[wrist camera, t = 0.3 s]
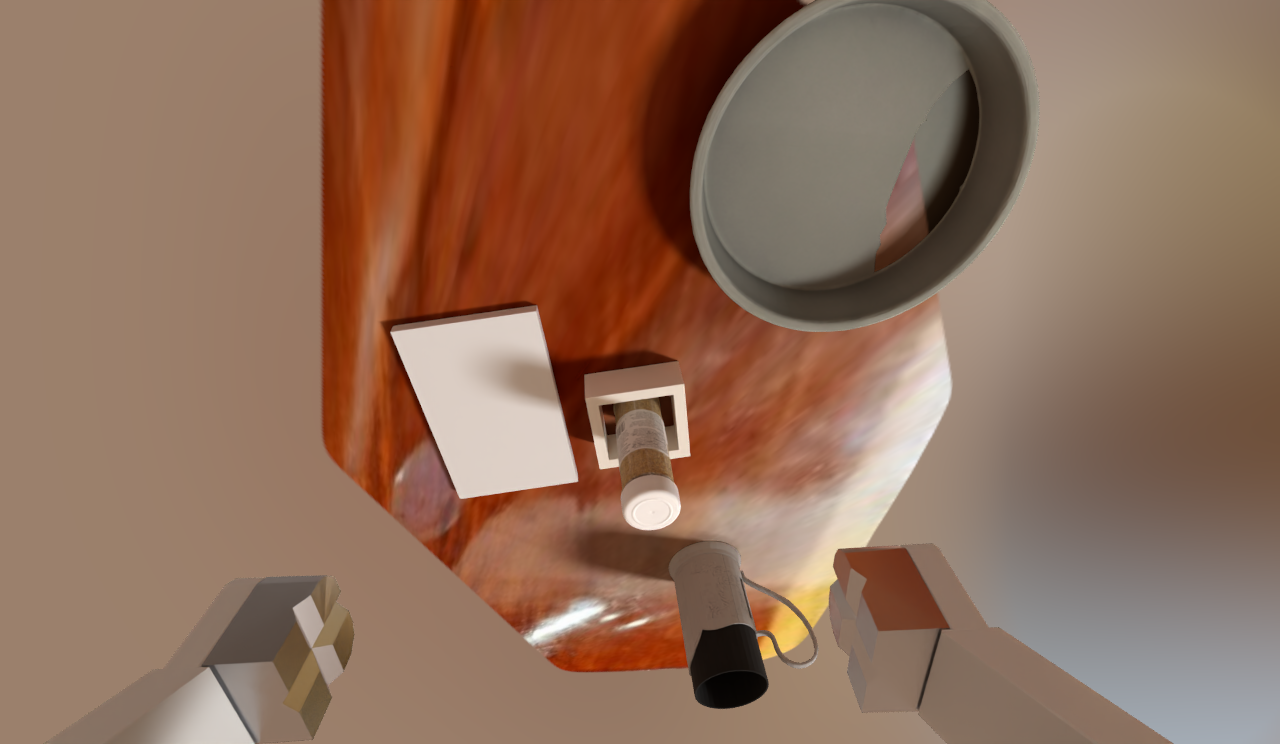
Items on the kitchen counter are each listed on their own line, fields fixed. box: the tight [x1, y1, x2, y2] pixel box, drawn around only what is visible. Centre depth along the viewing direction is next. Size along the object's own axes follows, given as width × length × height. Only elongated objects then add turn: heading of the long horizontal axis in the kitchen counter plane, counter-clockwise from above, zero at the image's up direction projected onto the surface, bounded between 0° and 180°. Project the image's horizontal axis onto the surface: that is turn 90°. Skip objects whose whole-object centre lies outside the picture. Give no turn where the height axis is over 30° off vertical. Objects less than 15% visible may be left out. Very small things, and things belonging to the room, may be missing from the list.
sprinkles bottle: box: [614, 397, 681, 530], centre depth 52 cm, size 5×5×13 cm
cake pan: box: [690, 0, 1039, 332], centre depth 45 cm, size 25×25×4 cm
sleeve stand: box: [584, 361, 690, 469], centre depth 56 cm, size 9×9×4 cm
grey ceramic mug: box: [669, 541, 818, 709], centre depth 67 cm, size 9×14×15 cm, turn 96°
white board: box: [390, 305, 578, 499], centre depth 56 cm, size 20×12×1 cm, turn 6°
